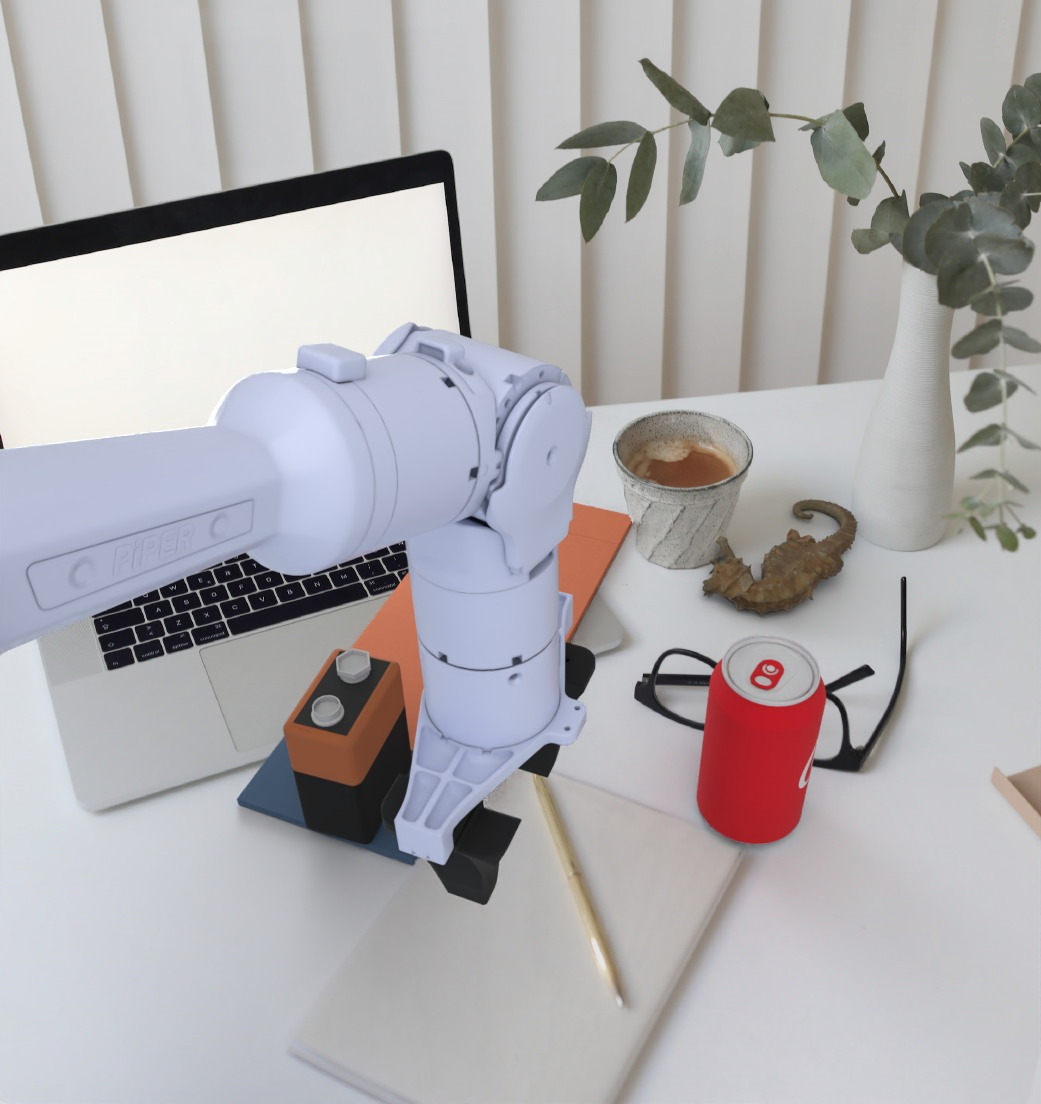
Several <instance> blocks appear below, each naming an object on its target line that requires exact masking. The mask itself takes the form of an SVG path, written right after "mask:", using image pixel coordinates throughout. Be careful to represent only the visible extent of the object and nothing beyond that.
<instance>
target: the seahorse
mask: <svg viewBox="0 0 1041 1104" xmlns="http://www.w3.org/2000/svg"><path fill="white" fill-rule="evenodd" d="M803 511H817V512H821V513H824V514H827V515H830V516H832V517H833V518H835V519H836V520H837V521H838V523H839V524H840V528H839V529H838V530H837V531H836V532H834V533H832V534H830V536H829V535H826V537H825V538H823V539H822V540H821V541H820V540H818V541H816V538H814V537H813V536H812V535H810V534H807V535H803V536H800V533H799V530H797V529H794V528H791V529H789V531H788V532H787V533H786V537H785V538H786V539H785V540H786V541H784V542H783V541H782V543H781V544H778V545H776V544H775V545H773V546H772V548H771V549H770V551H769V552H768V553H764V557H763V561H762V563H761V564H760V574H761V579H760V580H756V579H755V578H754V575H753V572H752V565H753V564H752V563H750V564H748V565H747V564H745V563H744V559H743V557H739V558H738V557H737V556H736V555H735V553H734V551H733V549H732V548H731V546H730V545H729V542H728V541H729V540H728V538H727V537H725V536H722V535H720V536H719V538H718V539H717V540H716V542H715V543H716V544H717V545H718V546H719V548H720V550H721V554H719V555H717V556H716V555H715V558H714V559H713V560H709V563H710V564H712V566H713V567H712V569H711V570H710V571H709V573H708V574H709V575H711V576H710V577H709V578H706V579H704V580H703V581H702V584H703V586H702V592H703V597H706V596H707V598H711V597H712V596H713V595H718V596H720V597H723V598H725V599H726V600H729V601H732V602H733V603H734V604H735V608H736V611H737V612H739V611H742V610H743V609H748V610H749V611H752V610H754V611H756V612H758V613H759V614H760V616H761V617H762V618H764V616H765V614H766V613H768V612H769V611H772V612H779V611H781V610H786V611H788V612H792V608H793V606H794V605H797V604H801V603H802V602H803V601H804V599H808V600H810V601H814V598H813V596H812V595H813V592H814V590H815V589H816V587H817V585H818V584H819V583H820V582H821V581H823V580H825V581H827V580H828V579H829V578H831V577H834V576H837V575H838V574H839V573H841V572H842V570H843V567H844V566H845V563H844V560H843V559H842V555H844V554H845V552H847V551H848V549H849V550H852V545H853V544H854V542H855V541H856V540H855V539H856V538H855V537H856V533H857V530H858V523H859V521H857V518H855V515H853V514H852V511H850V510H849V509H847V508H845V507H844V506H842V505H839V504H838V503H835V502H831V501H826V500H823V499H803V500H799V501H797V502H795V503H794V504H793V506H792V513H793V515H794V516H795V517H796V518H798V519H800V520H807V521H808V520H812V519H813V518H814V517H815V516H814V513H813V512H809V513H805V512H803Z"/></svg>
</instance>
